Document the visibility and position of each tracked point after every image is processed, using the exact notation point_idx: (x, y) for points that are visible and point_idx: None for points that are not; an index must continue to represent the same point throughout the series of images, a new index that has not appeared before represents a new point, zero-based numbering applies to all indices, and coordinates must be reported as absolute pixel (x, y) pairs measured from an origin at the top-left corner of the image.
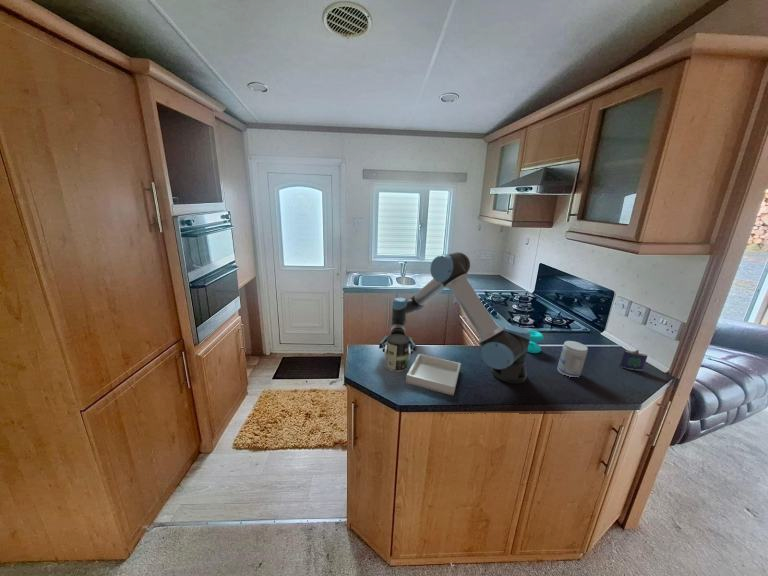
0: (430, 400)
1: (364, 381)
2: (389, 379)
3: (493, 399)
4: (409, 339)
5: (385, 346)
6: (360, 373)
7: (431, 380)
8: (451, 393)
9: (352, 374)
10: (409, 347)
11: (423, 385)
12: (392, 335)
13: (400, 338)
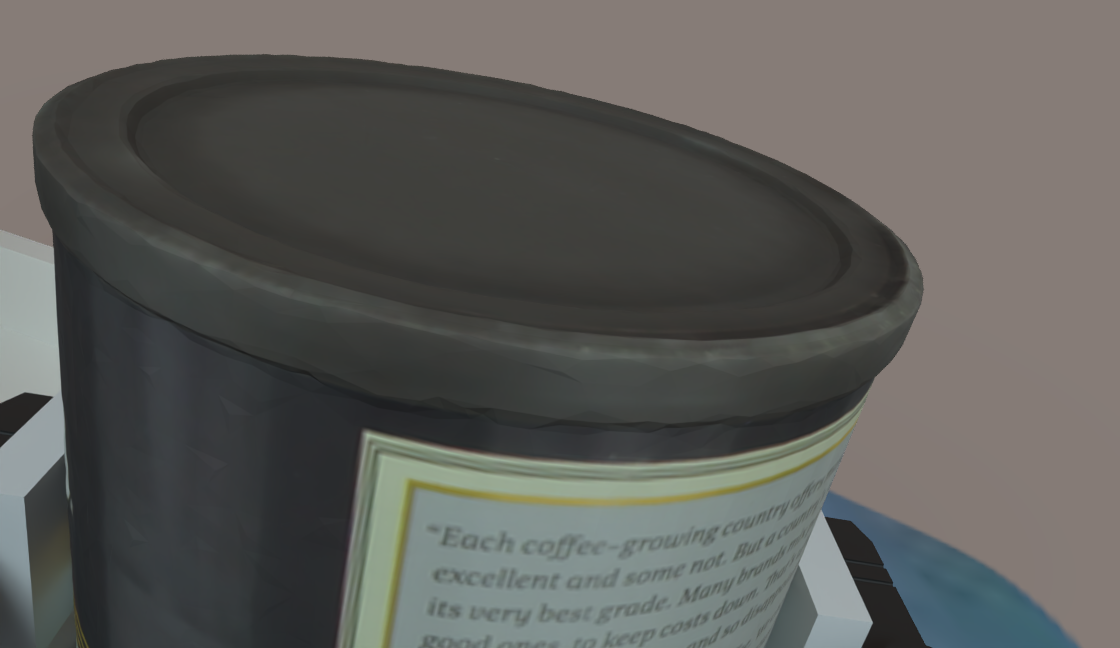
0: None
1: (829, 513)
2: None
3: None
4: (93, 77)
5: (829, 535)
6: (964, 644)
7: (42, 253)
8: None
9: (1048, 629)
10: (31, 445)
11: None
12: (777, 309)
13: (423, 165)
